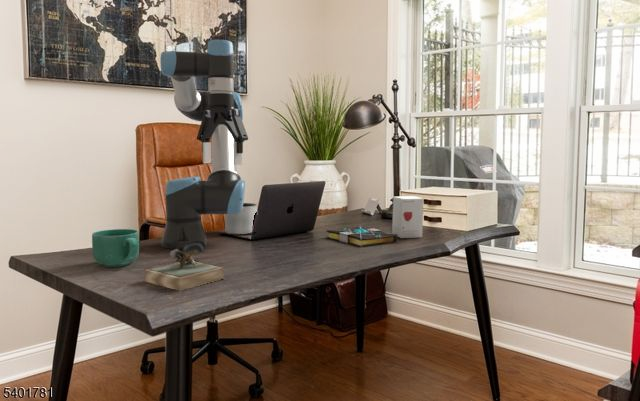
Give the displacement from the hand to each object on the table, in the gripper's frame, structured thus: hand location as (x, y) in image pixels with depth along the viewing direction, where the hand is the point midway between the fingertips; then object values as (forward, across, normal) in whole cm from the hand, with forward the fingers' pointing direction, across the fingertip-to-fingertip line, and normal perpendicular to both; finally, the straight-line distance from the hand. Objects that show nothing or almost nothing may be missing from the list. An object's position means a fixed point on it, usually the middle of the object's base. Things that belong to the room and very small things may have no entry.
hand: (222, 164), depth 163 cm
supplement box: (+29, +27, +69) cm, 80 cm away
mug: (+29, -14, -27) cm, 42 cm away
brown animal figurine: (+26, +13, -24) cm, 37 cm away
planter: (+29, -27, +34) cm, 52 cm away
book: (+29, +18, +51) cm, 61 cm away
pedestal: (+29, +14, -26) cm, 41 cm away
